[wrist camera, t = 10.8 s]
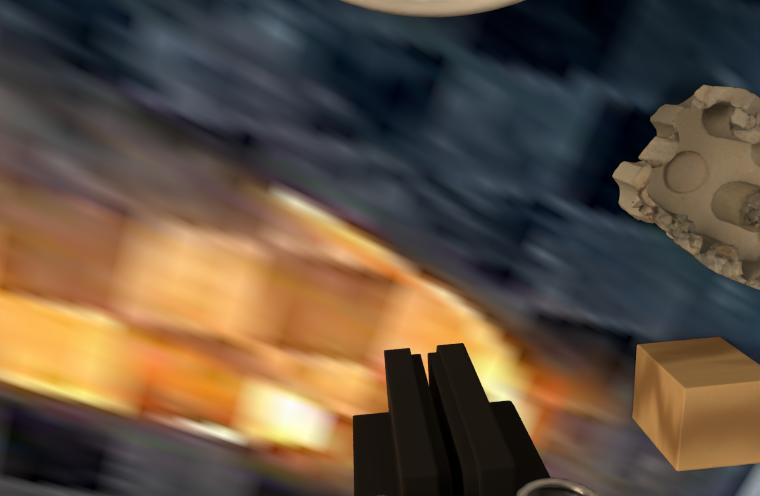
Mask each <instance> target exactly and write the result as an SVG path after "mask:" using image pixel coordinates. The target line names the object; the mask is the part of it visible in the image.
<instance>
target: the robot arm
mask: <svg viewBox="0 0 760 496" xmlns="http://www.w3.org/2000/svg"><path fill="white" fill-rule="evenodd" d="M384 357H385V370H386V383H387V395H388V408H389V412H385V413H375V414H365V415H354V416H353V451H354V496H599V495H598V494H597V493H596V492H595V491H593V490H591V489H590V488H588V487H586V486H584V485H583V484H580V483H577V482H574V481H571V480H568V479H560V478H550V476H549V474H548V472H547V470H546V468H545V466H544V464H543V462H542V460H541V458H540V456H539V454H538V452H537V450H536V448H535V446H534V444H533V442H532V440H531V438H530V436H529V434H528V432H527V430H526V428H525V426H524V424H523V422H522V420H521V418H520V416H519V414H518V412H517V410H516V408H515V406H514V405H513V403H512V402H511V401H499V402H489V401H488V399H487V396H486V394H485V392H484V389H483V387H482V385H481V383H480V380H479V378H478V376H477V373H476V371H475V369H474V366H473V364H472V362H471V360H470V357H469V355H468V353H467V350H466V348H465V346H464V344H463V343H458V344H448V345H437V352H435V353H428V373H429V385H428V381H427V377H426V373H425V369H424V366H423V362H422V358H421V355H420V354H413V355H411V352H410V348H405V349H394V350H384Z"/></svg>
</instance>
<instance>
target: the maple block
mask: <svg viewBox="0 0 760 496" xmlns="http://www.w3.org/2000/svg"><path fill="white" fill-rule="evenodd" d="M632 417H633V419H634V420H635V421H636V423H637V424H638V425H639V426H640V427H641V429H642V430H643V431H644V432H645V433H646V435H647V436H648V437H649V438H650V439H651V441H652V442H653V443H654V444H655V445H656V447H657V448H658V449H659V450H660V451H661V453H662V454H663V455H664V456H665V457H666V459H667V460H668V461H669V462H670V463H671V465H672V466H673V467H674V468H675V469H676V471H685V470H695V469H704V468H714V467H724V466H734V465H744V464H754V463H760V365H759V364H758V363H756V362H755V361H753V360H752V359H751V358H749V357H748V356H746V355H745V354H743V353H742V352H741V351H739V350H738V349H736V348H735V347H734V346H732V345H731V344H729V343H728V342H726V341H725V340H724V339H722V338H721V337H711V338H700V339H690V340H679V341H668V342H658V343H647V344H638V345H637V353H636V369H635V384H634V399H633V415H632Z"/></svg>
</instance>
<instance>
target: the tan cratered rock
mask: <svg viewBox="0 0 760 496" xmlns="http://www.w3.org/2000/svg"><path fill="white" fill-rule="evenodd" d="M650 121H651V122H652V124H653V125H654V127H655V128H656V130H657V136H655V138H654V139H653V140H652V141H651V142H650V143H649V145H648V146H647V147H646V148H645V149H644V151H643V152H642V153H641V154H640V156H639V159H640V160H642V161H640V162H637V163H630V162H625V161H624V162H622V163H621V164H620V165H619V167H618V168H617V169H616V170H615V172H614V174H613V178H614V179H615V180H616V182H617V183H618V185H619V188H620V198H619V205H620V206H621V207H622V208H623V209H624V210H625V211H627V212H628V213H629V214H630V215H632V216H633V217H634V218H636V219H637V220H642V221H645V222H648V223H656V224H657V225H658V226H659V227H660V228H661V229H663V230H664V231H666V235H668V236H669V237H670V238H672V239H674V240H673V241H674V242H675V243H676V244H678V245H680V246H681V247H682V248H684V249H685V250H687V251H689V252H690V253H691V254H693V255H694V257H695V258H696V259H698V260H699V261H700V262H701V263H702V264H704V265H705V266H706V267H708V268H710V269H711V270H713V271H714V272H716V273H718V274H721V275H723V276H725V277H728V278H730V279H732V280H735V281H738V282H741V283H743V284H746V285H748V286H750V287H753V288H756V289H759V290H760V98H759V97H758V96H757V95H755V94H753V93H751V92H749V91H747V90H745V89H740V88H735V87H718V86H708V85H703V86H701V87H700V88H699V89H697V91H696V92H695V93H694V95H693V96H691V97H690V98H689V99H687V100H686V101H684V102H683V103H681V104H679V105H669V104H665V105H663V106H661V107H660V108H659V109H658V110H657V112H656V113H655V114H654V115H653V116H652V117H651V119H650Z"/></svg>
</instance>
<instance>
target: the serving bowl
mask: <svg viewBox="0 0 760 496" xmlns="http://www.w3.org/2000/svg"><path fill="white" fill-rule="evenodd" d="M341 1H343V2H346V3H349V4H352V5H356V6H359V7H362V8H366V9H369V10H374V11H378V12H383V13H388V14H394V15H403V16H412V17H451V16H463V15H469V14H476V13H481V12H486V11H491V10H495V9H499V8H503V7H506V6H510V5H513V4H516V3H519V2H522V1H524V0H341Z"/></svg>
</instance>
